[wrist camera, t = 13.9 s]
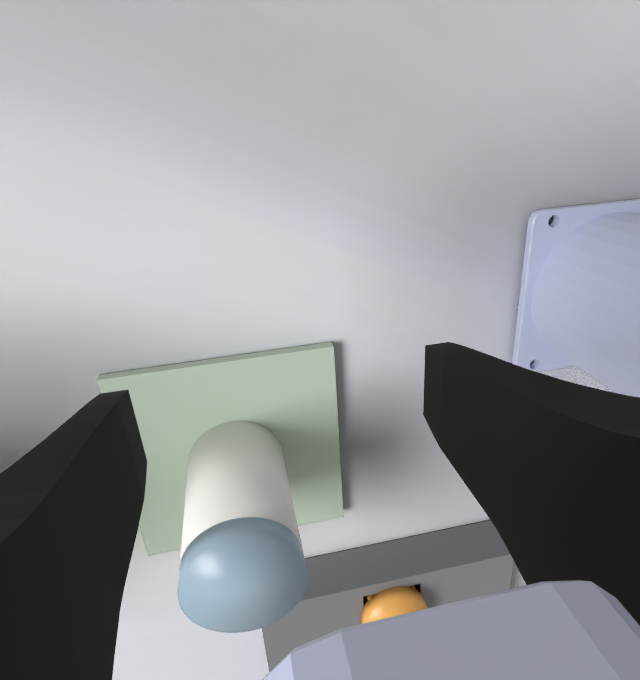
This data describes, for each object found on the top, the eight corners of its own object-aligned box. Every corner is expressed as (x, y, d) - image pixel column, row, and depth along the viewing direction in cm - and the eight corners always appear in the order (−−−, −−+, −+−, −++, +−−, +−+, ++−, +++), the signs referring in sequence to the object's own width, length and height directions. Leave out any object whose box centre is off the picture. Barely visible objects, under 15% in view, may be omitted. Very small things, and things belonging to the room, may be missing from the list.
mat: (331, 341, 22) (333, 346, 21) (341, 510, 26) (343, 516, 26) (99, 374, 20) (96, 380, 20) (149, 547, 25) (148, 555, 24)
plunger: (410, 550, 28) (430, 592, 25) (410, 593, 29) (428, 638, 27) (349, 563, 27) (363, 608, 25) (352, 607, 29) (365, 653, 26)
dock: (491, 519, 29) (515, 553, 26) (477, 649, 34) (495, 687, 31) (255, 569, 27) (258, 610, 24) (277, 700, 32) (281, 744, 29)
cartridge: (297, 435, 23) (328, 552, 17) (262, 505, 24) (278, 639, 18) (207, 409, 21) (204, 528, 15) (174, 486, 23) (159, 624, 16)
